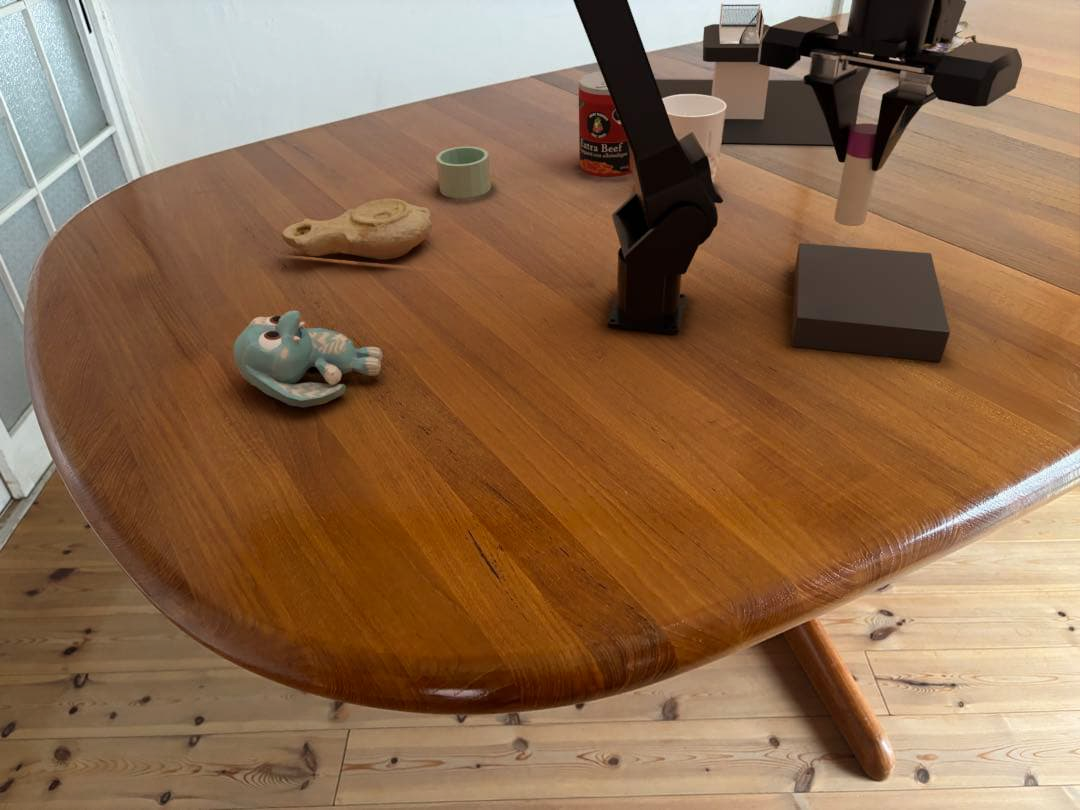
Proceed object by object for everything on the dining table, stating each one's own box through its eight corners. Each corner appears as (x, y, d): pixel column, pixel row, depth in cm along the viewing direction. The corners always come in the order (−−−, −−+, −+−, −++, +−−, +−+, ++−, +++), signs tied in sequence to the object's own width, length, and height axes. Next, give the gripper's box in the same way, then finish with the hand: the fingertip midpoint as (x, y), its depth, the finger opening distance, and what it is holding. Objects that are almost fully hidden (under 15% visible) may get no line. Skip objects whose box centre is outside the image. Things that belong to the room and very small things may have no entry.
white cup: (717, 204, 94) (725, 117, 88) (648, 201, 96) (652, 115, 90) (719, 178, 100) (727, 94, 94) (654, 175, 102) (658, 93, 96)
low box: (940, 362, 68) (950, 331, 66) (791, 346, 71) (797, 317, 69) (923, 281, 79) (931, 252, 77) (794, 270, 82) (799, 242, 80)
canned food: (569, 175, 103) (567, 85, 96) (595, 153, 108) (596, 66, 102) (625, 184, 100) (628, 92, 93) (650, 161, 105) (654, 72, 99)
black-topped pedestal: (842, 145, 107) (862, 37, 99) (640, 142, 111) (644, 37, 103) (818, 81, 129) (834, -12, 121) (651, 80, 133) (655, -11, 125)
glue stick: (867, 227, 70) (886, 135, 65) (834, 225, 71) (851, 133, 66) (865, 214, 72) (883, 123, 67) (833, 212, 73) (849, 122, 68)
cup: (482, 203, 97) (478, 167, 94) (433, 200, 98) (428, 164, 96) (497, 183, 102) (494, 147, 99) (450, 180, 103) (446, 145, 100)
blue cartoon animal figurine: (377, 356, 62) (213, 342, 61) (374, 429, 67) (221, 418, 65) (388, 287, 71) (244, 273, 69) (385, 355, 75) (249, 343, 73)
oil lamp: (283, 261, 87) (272, 217, 84) (397, 220, 94) (390, 178, 91) (332, 297, 81) (322, 251, 78) (450, 250, 88) (445, 206, 85)
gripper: (1083, -52, 58) (1015, 163, 67) (841, -71, 69) (812, 116, 78) (1019, -24, 52) (954, 207, 61) (765, -50, 63) (744, 150, 72)
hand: (860, 165), depth 68 cm, fingers closed on glue stick, 3 cm apart
